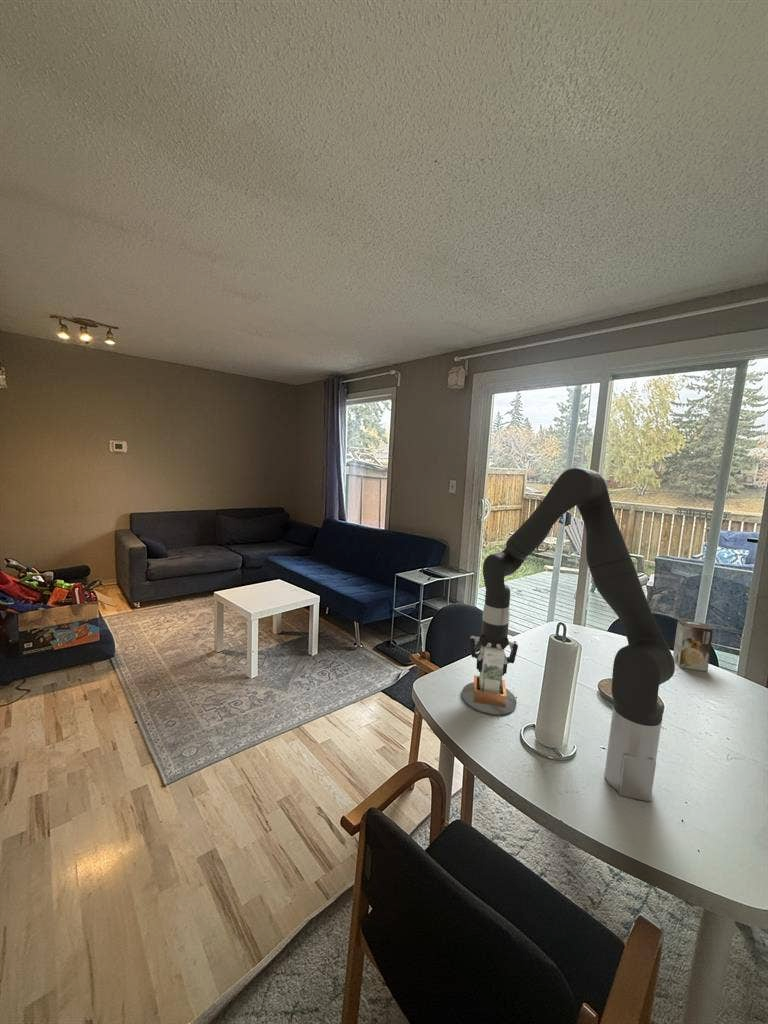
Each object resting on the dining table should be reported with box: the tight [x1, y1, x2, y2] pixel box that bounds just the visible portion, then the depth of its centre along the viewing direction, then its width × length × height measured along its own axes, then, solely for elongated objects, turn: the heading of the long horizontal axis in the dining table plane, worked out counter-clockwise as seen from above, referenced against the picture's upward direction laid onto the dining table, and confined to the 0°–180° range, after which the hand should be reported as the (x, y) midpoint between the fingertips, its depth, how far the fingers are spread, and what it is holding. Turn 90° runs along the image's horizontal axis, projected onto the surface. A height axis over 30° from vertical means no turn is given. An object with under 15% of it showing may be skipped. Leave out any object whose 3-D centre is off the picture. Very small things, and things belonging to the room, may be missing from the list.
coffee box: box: [672, 619, 714, 672], centre depth 150 cm, size 9×6×16 cm
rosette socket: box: [461, 674, 517, 717], centre depth 123 cm, size 16×16×4 cm
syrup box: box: [478, 646, 506, 694], centre depth 122 cm, size 6×6×14 cm
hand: (491, 672), depth 122 cm, fingers closed on syrup box, 6 cm apart
